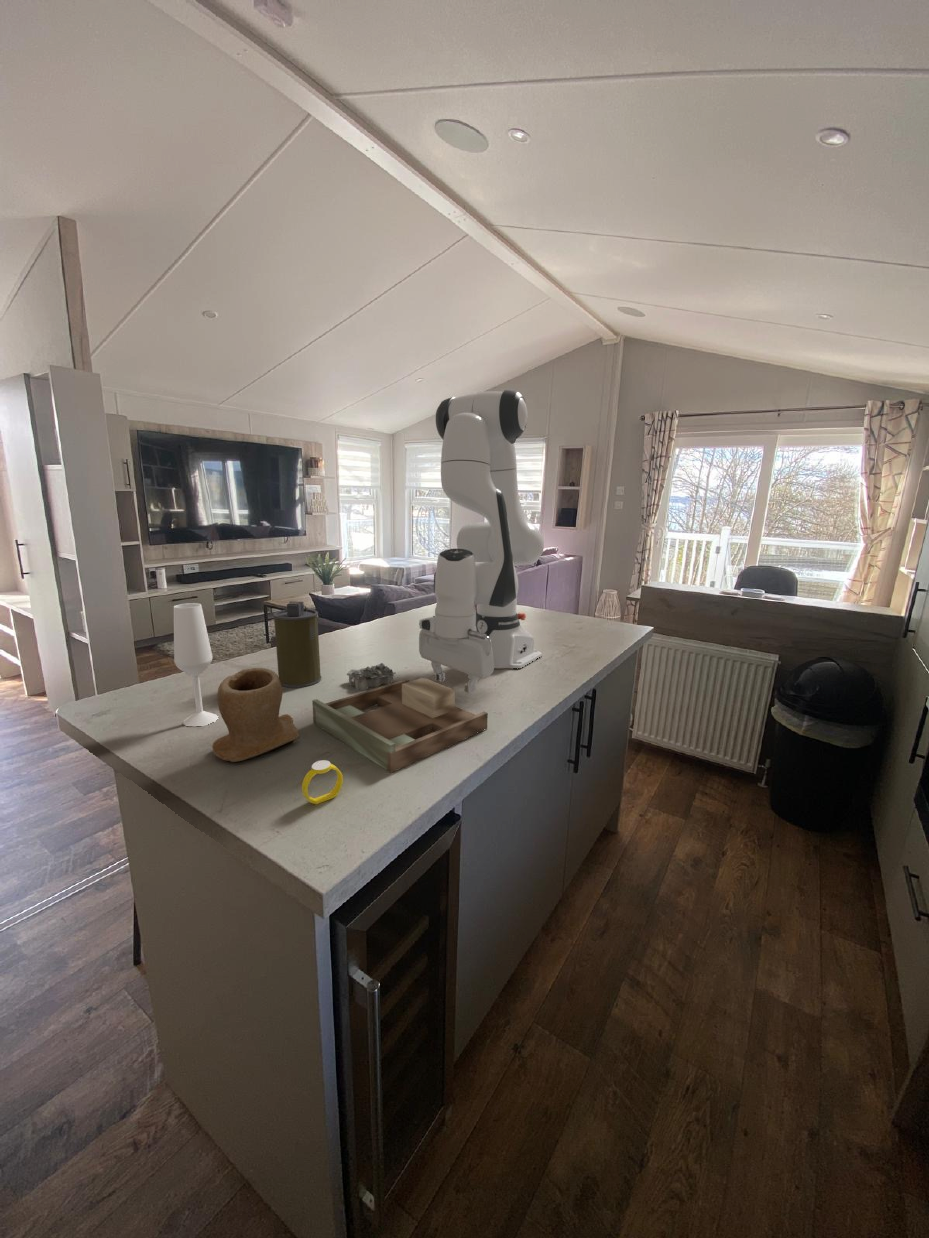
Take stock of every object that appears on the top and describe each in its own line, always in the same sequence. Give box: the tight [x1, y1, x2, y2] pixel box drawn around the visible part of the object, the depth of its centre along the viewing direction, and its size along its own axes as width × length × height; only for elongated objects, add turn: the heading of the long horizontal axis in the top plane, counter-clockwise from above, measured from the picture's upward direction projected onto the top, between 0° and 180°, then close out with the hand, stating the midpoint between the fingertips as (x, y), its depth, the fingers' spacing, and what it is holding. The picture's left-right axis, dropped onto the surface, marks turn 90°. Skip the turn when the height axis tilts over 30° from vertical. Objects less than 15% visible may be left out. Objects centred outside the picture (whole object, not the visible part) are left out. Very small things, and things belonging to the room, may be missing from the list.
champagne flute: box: [173, 602, 219, 727], centre depth 99 cm, size 7×7×24 cm
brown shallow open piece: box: [312, 679, 489, 773], centre depth 100 cm, size 24×26×5 cm
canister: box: [272, 600, 322, 689], centre depth 123 cm, size 11×10×20 cm
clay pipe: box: [211, 667, 300, 763], centre depth 89 cm, size 15×12×15 cm
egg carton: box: [346, 662, 396, 691], centre depth 124 cm, size 11×8×4 cm
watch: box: [301, 759, 344, 805], centre depth 75 cm, size 6×3×6 cm, turn 129°
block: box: [402, 677, 456, 718], centre depth 105 cm, size 6×10×4 cm, turn 45°
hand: (454, 686), depth 110 cm, fingers open, 8 cm apart
